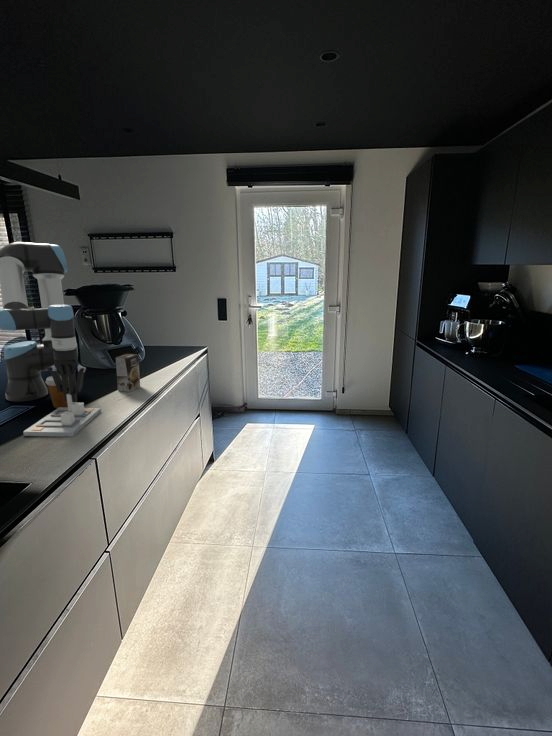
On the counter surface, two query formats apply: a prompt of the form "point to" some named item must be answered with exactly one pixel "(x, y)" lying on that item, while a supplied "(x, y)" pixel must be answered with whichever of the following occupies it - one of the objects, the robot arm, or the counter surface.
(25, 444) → the counter surface
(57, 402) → the disposable coffee cup
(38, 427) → the switch plate
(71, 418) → the tab
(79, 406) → the tab
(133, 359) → the coffee box
